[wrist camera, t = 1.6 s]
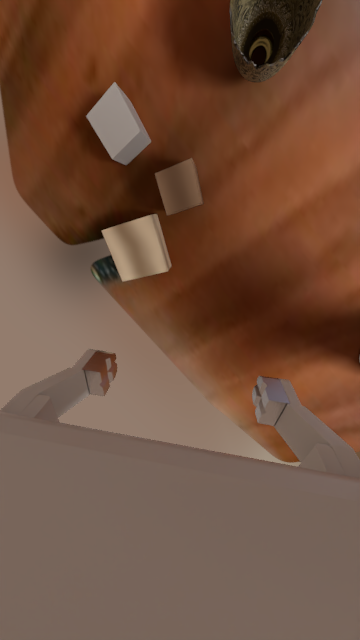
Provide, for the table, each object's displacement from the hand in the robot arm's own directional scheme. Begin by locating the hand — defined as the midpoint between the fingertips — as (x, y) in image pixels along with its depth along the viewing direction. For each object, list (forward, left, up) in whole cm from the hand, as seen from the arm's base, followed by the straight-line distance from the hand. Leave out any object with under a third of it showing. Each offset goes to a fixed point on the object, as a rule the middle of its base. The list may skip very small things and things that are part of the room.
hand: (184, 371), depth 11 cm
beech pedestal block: (+11, -5, -29) cm, 31 cm away
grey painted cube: (+7, -20, -29) cm, 35 cm away
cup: (-11, -21, -29) cm, 37 cm away
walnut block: (+1, -11, -29) cm, 30 cm away
